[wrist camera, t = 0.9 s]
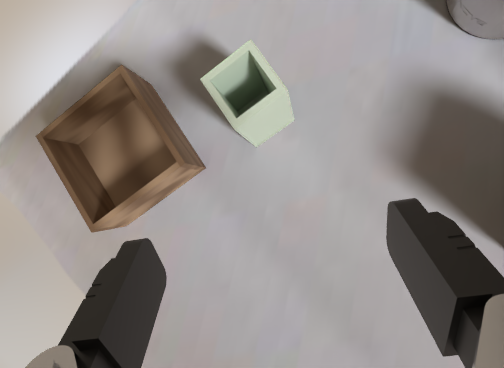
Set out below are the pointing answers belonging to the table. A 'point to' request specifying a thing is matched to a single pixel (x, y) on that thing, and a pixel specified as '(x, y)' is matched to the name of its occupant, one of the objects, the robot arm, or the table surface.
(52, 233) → the table surface
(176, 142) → the walnut crate
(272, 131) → the green square vase
